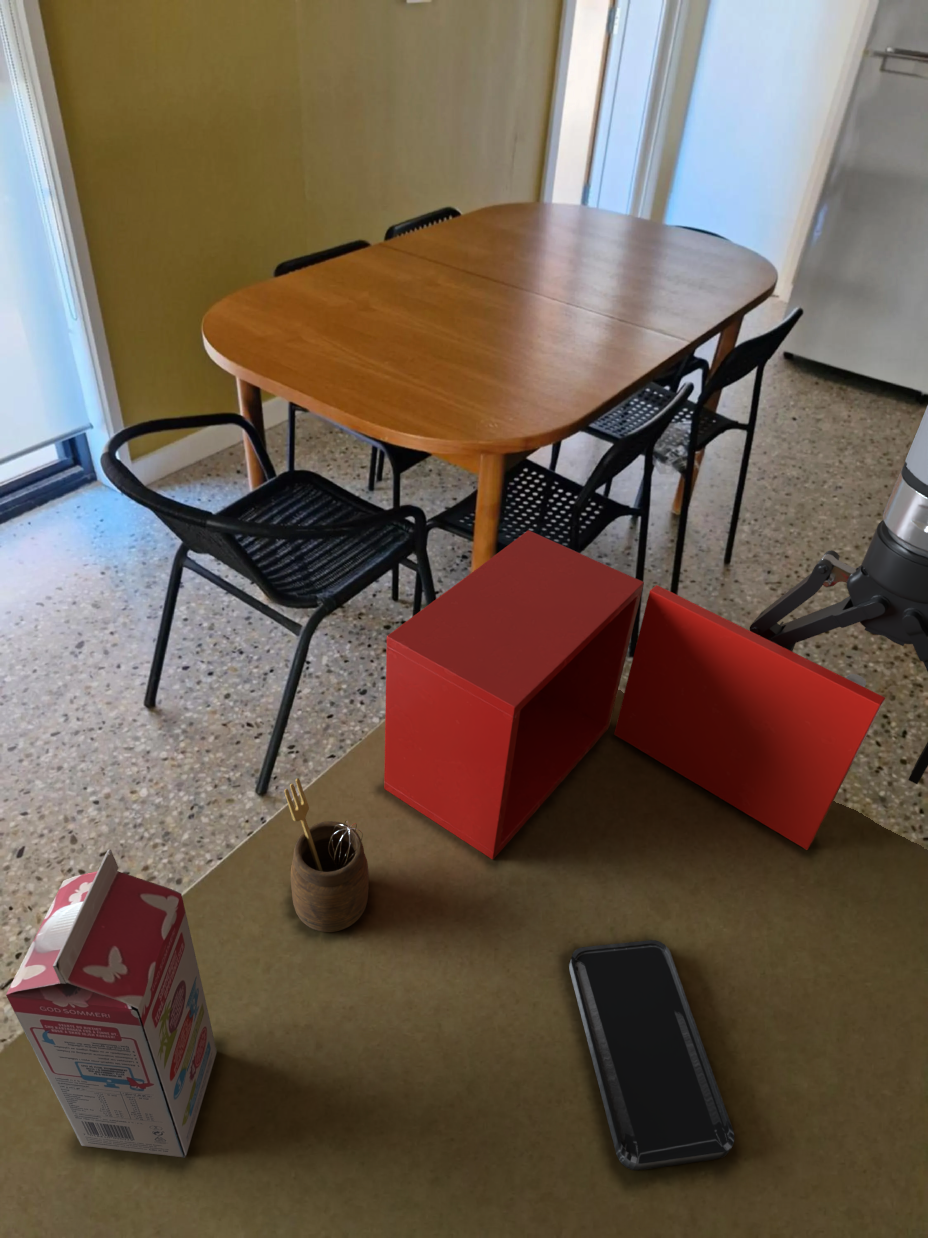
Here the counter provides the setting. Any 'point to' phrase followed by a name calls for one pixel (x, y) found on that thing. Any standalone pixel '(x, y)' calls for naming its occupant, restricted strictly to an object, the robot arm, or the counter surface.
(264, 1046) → the counter surface
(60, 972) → the juice carton
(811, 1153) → the counter surface
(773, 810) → the red cabinet door
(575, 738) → the cabinet
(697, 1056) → the phone
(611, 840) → the counter surface
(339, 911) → the utensil holder
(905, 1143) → the counter surface
